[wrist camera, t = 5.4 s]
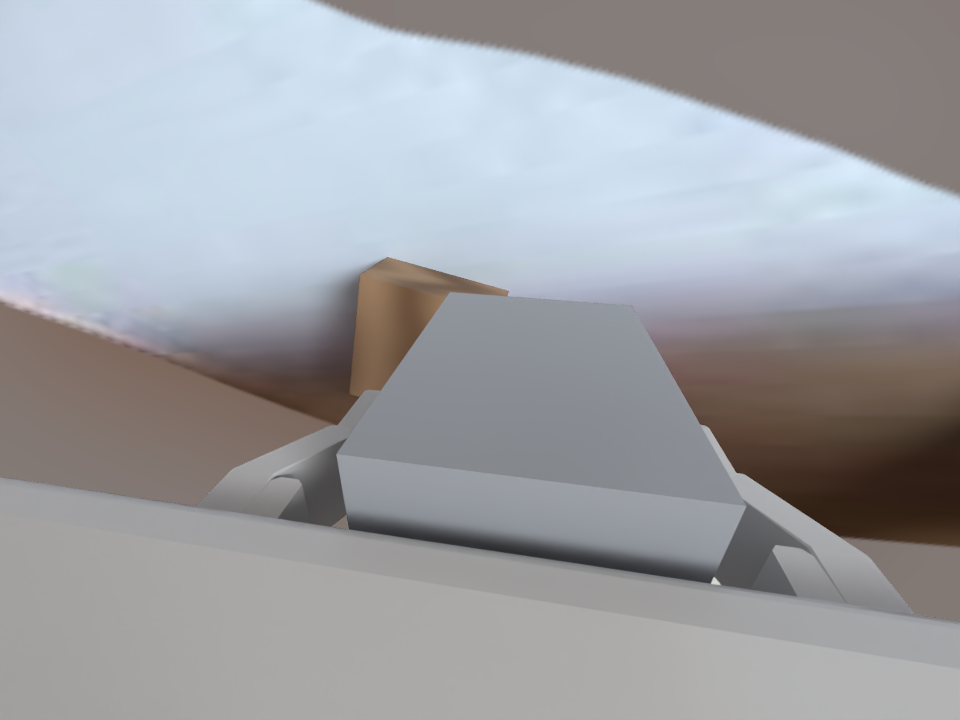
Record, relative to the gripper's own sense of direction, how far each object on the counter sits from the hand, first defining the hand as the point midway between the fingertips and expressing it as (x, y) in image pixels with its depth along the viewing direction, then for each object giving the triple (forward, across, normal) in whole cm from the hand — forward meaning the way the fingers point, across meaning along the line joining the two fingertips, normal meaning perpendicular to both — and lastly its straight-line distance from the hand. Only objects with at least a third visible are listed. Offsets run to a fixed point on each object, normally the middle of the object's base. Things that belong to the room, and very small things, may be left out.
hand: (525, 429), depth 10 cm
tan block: (+20, +7, +6) cm, 22 cm away
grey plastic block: (+3, 0, 0) cm, 3 cm away
